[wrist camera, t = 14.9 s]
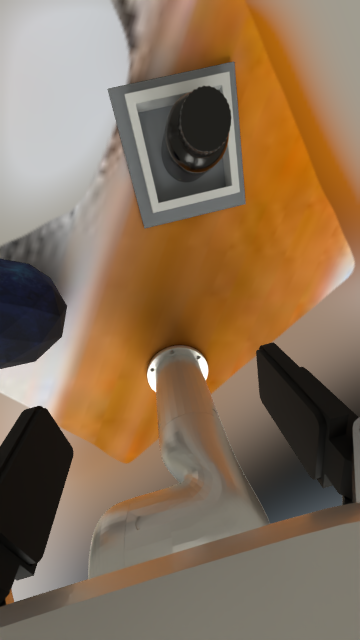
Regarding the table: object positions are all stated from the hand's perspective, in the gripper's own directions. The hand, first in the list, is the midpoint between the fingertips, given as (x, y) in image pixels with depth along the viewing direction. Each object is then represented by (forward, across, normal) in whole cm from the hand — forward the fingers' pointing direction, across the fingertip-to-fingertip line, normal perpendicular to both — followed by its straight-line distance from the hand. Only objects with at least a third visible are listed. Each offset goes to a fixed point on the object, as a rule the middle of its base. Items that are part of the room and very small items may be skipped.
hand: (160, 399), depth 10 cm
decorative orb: (+31, +20, 0) cm, 36 cm away
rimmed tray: (+30, -9, -14) cm, 35 cm away
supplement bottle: (+30, -9, -14) cm, 34 cm away
